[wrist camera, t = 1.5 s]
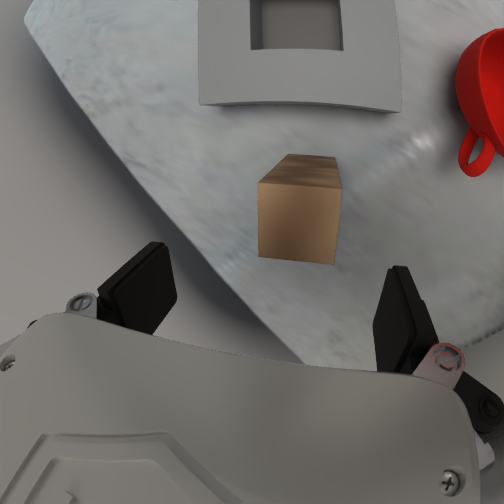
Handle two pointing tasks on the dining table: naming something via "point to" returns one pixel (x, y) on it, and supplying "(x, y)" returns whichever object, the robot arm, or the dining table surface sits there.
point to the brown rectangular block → (300, 209)
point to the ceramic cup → (482, 99)
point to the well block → (299, 53)
